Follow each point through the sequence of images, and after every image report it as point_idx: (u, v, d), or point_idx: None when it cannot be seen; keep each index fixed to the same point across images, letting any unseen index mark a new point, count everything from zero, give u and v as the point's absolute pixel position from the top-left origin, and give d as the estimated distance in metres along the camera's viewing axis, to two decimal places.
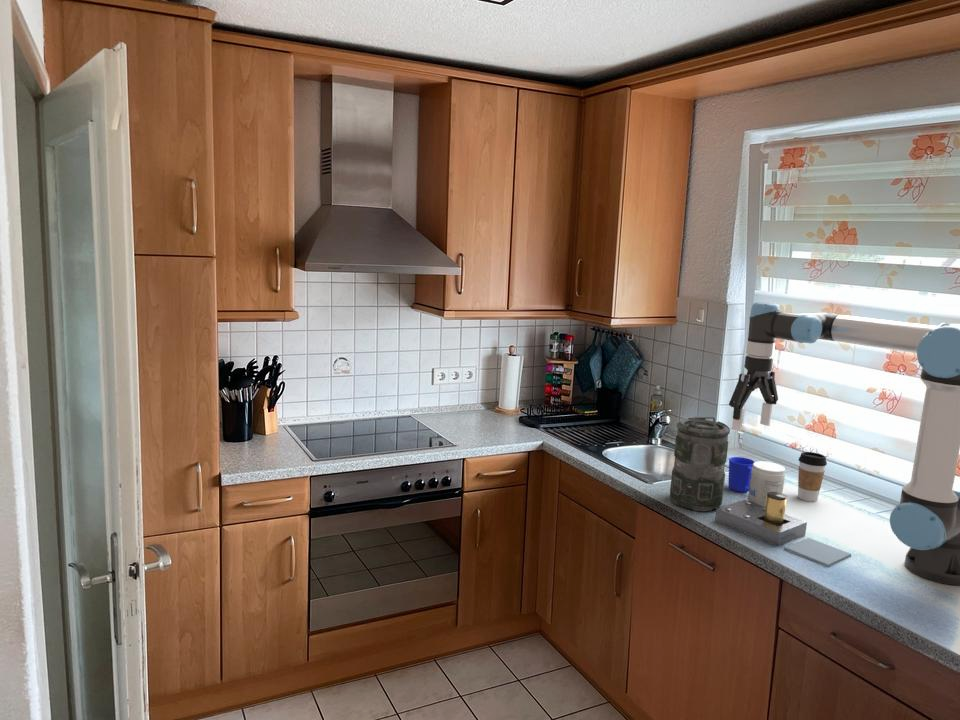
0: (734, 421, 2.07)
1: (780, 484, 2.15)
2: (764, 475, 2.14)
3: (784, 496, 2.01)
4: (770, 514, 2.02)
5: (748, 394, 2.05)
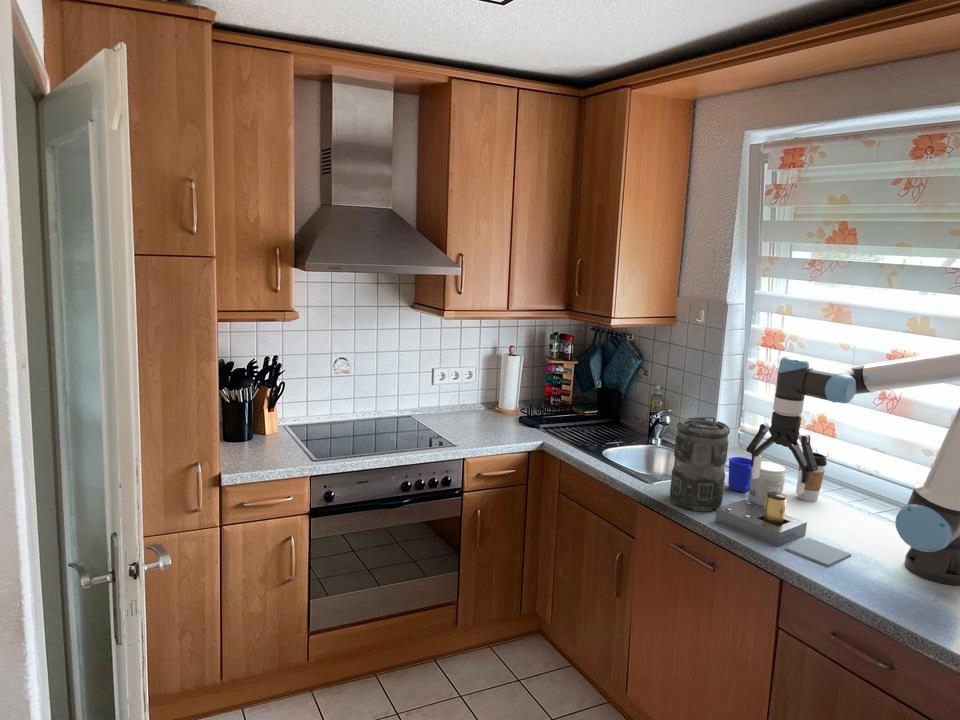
0: None
1: (780, 484, 2.15)
2: (764, 475, 2.14)
3: (784, 496, 2.01)
4: (770, 514, 2.02)
5: (763, 445, 2.03)
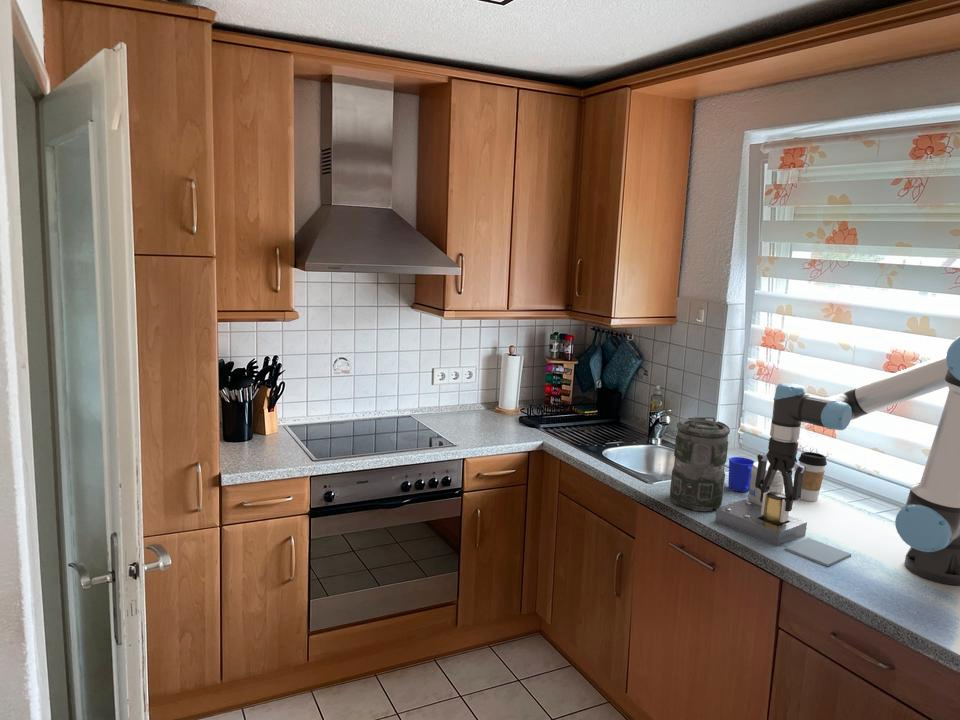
0: None
1: (780, 484, 2.15)
2: None
3: (784, 496, 2.01)
4: (770, 514, 2.02)
5: (767, 476, 2.03)
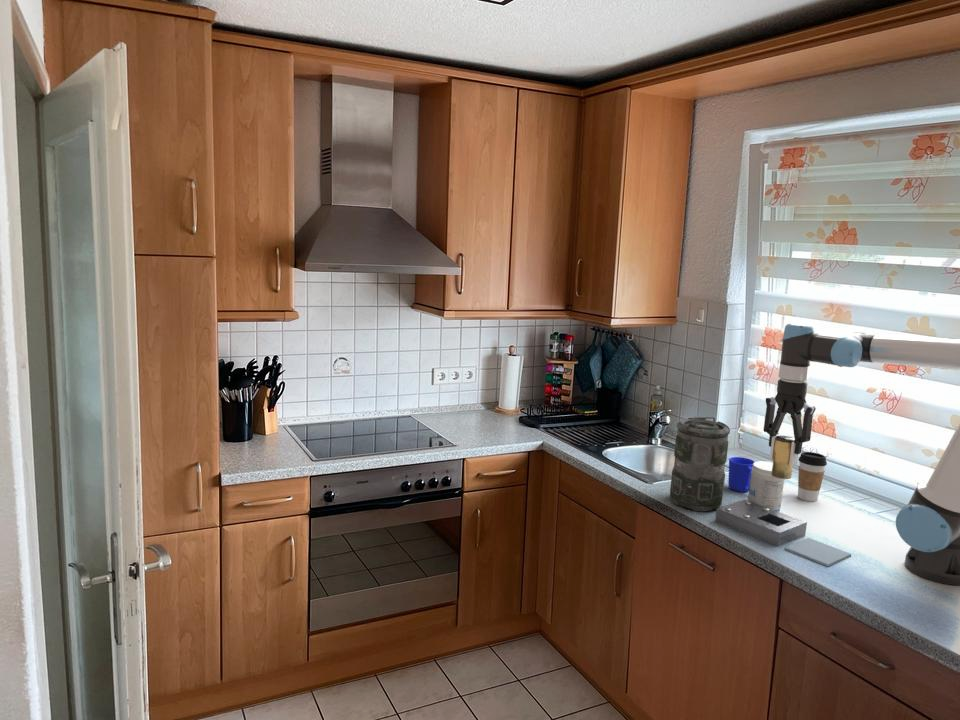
0: None
1: (780, 484, 2.15)
2: (764, 475, 2.14)
3: (793, 439, 1.98)
4: (779, 457, 1.98)
5: (776, 419, 2.00)
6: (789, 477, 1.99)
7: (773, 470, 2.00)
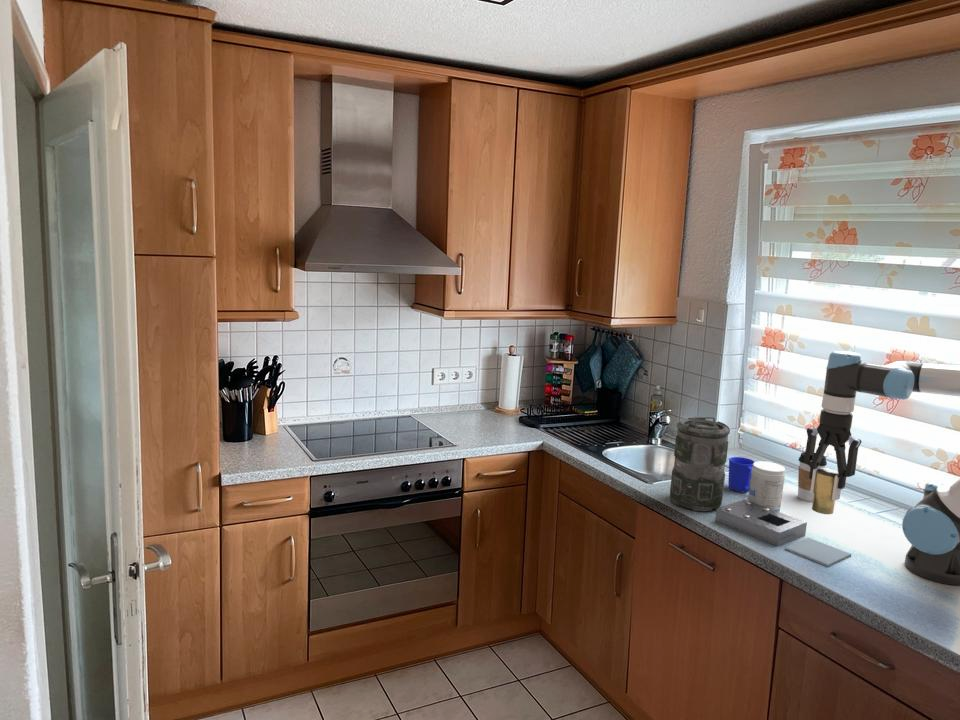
0: None
1: (780, 484, 2.15)
2: (764, 475, 2.14)
3: (836, 472, 1.88)
4: (821, 491, 1.88)
5: (818, 451, 1.89)
6: (831, 512, 1.89)
7: (814, 504, 1.90)
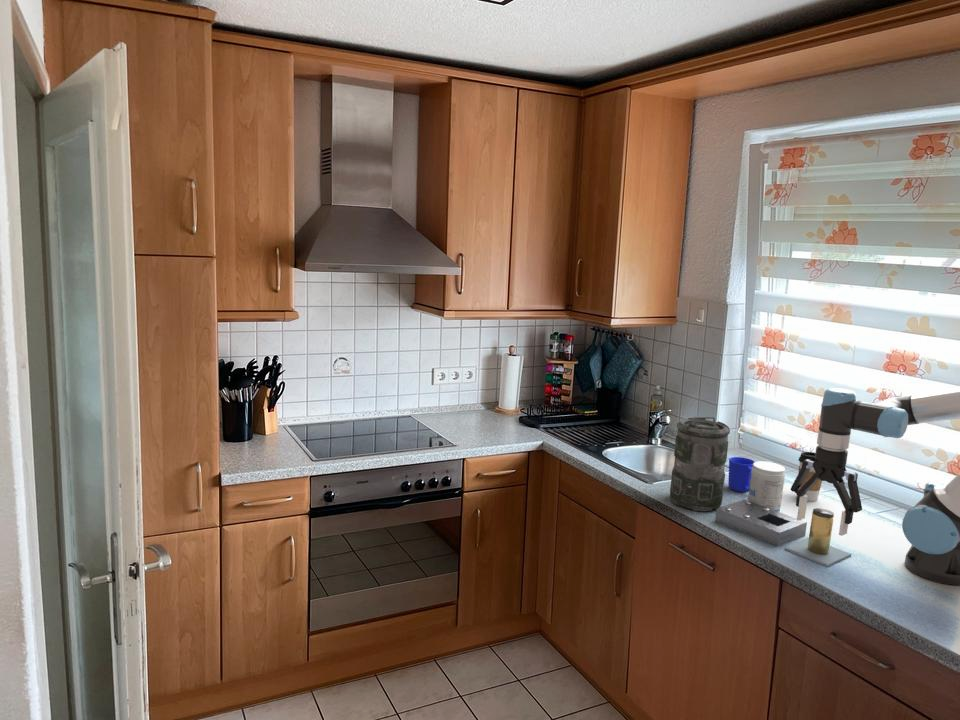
0: None
1: (780, 484, 2.15)
2: (764, 475, 2.14)
3: (831, 513, 1.90)
4: (816, 532, 1.90)
5: (808, 483, 1.92)
6: (826, 553, 1.90)
7: (809, 545, 1.92)
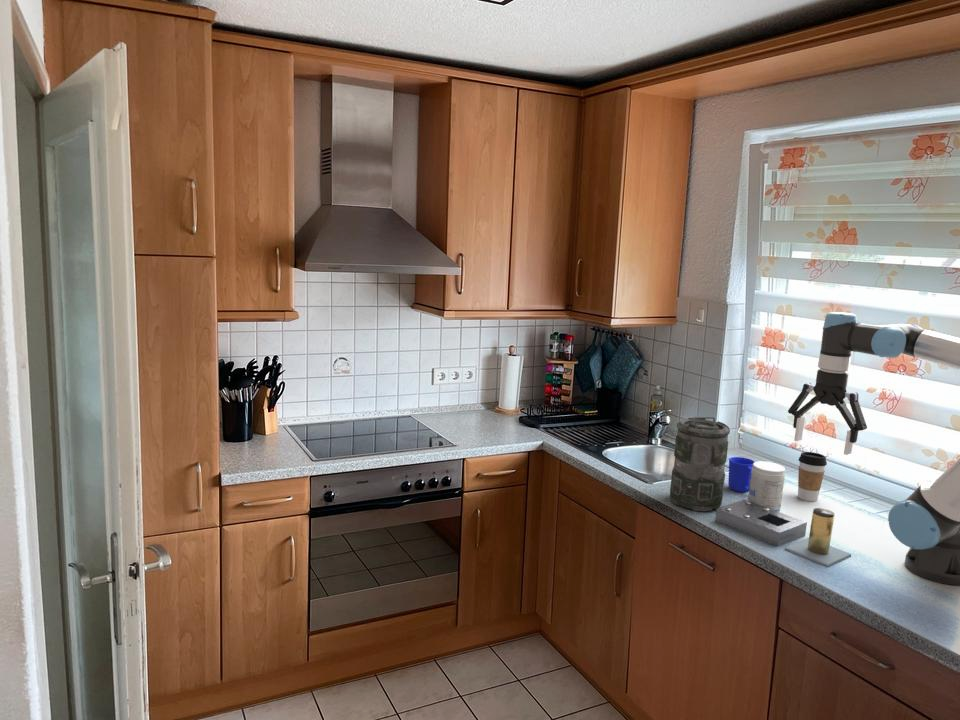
0: None
1: (780, 484, 2.15)
2: (764, 475, 2.14)
3: (832, 513, 1.90)
4: (816, 532, 1.90)
5: (807, 405, 1.96)
6: (826, 553, 1.90)
7: (809, 544, 1.92)
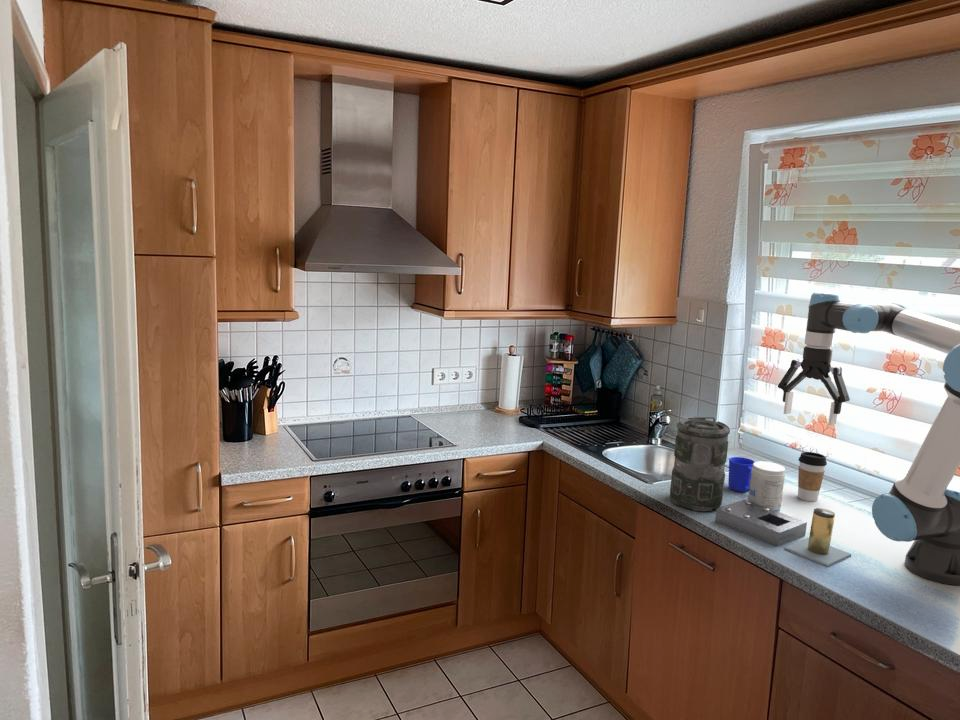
0: None
1: (780, 484, 2.15)
2: (764, 475, 2.14)
3: (832, 514, 1.89)
4: (816, 532, 1.90)
5: (795, 380, 2.09)
6: (826, 553, 1.90)
7: (809, 544, 1.92)
